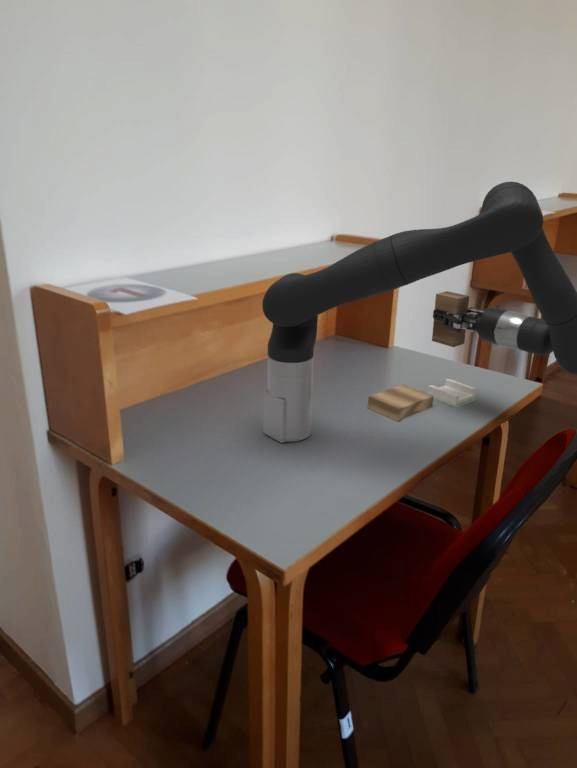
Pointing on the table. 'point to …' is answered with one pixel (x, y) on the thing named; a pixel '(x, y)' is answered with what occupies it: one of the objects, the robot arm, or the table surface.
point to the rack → (452, 392)
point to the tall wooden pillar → (454, 305)
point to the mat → (460, 403)
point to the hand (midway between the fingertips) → (440, 312)
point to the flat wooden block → (400, 402)
